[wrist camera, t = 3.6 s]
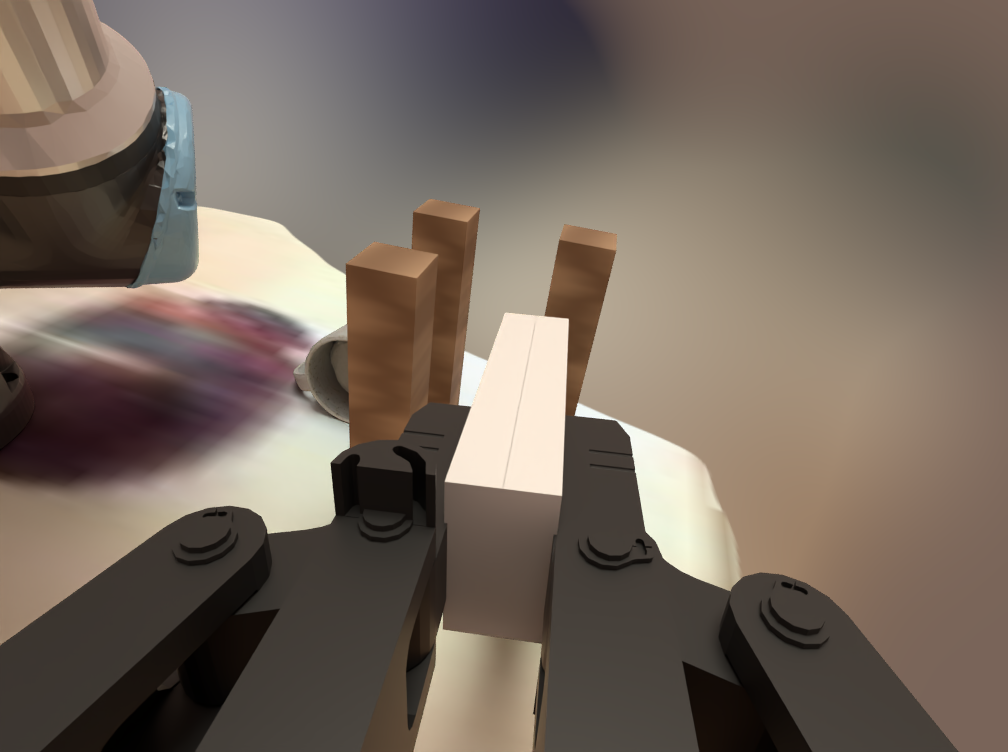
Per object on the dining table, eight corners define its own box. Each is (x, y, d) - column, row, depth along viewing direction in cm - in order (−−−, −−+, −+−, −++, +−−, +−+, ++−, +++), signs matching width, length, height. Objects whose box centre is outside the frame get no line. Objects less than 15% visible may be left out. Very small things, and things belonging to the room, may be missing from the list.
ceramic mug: (431, 385, 50) (435, 308, 46) (392, 436, 43) (393, 352, 39) (326, 358, 51) (321, 282, 47) (272, 403, 44) (261, 319, 40)
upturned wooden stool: (343, 553, 33) (332, 265, 23) (412, 427, 44) (425, 196, 34) (561, 608, 32) (648, 329, 22) (577, 465, 43) (639, 236, 33)
